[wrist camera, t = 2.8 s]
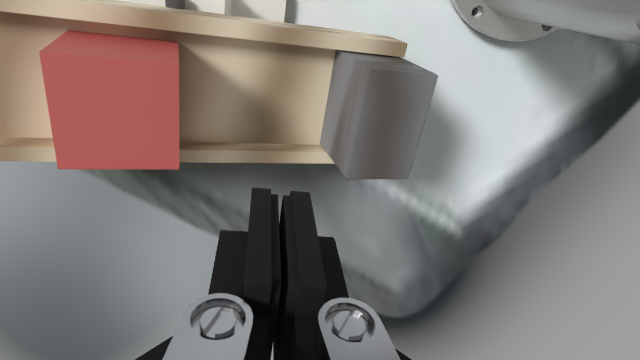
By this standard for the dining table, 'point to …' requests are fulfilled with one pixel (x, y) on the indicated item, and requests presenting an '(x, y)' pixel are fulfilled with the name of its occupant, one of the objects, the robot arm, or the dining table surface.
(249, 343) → the robot arm
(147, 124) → the block
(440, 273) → the dining table surface
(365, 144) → the beam
